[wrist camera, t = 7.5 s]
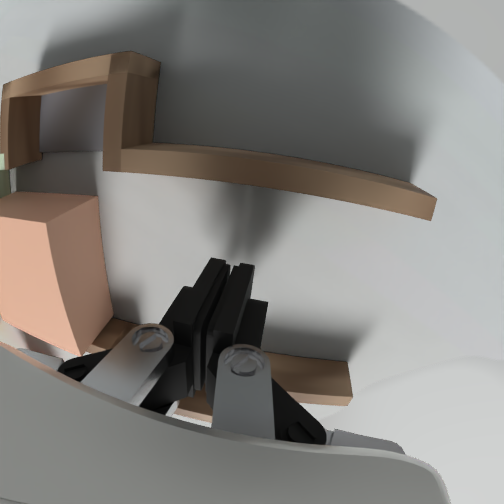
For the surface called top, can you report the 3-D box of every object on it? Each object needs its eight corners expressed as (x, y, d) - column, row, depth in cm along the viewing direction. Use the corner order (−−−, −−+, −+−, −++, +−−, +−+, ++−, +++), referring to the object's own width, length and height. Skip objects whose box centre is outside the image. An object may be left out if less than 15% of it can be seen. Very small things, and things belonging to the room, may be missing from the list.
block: (100, 194, 12) (45, 222, 9) (115, 312, 15) (81, 357, 12) (18, 190, 13) (-29, 212, 9) (38, 288, 16) (3, 320, 12)
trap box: (424, 101, 9) (455, 99, 6) (325, 405, 16) (326, 437, 14) (3, 94, 10) (-27, 98, 8) (38, 331, 18) (21, 350, 15)
